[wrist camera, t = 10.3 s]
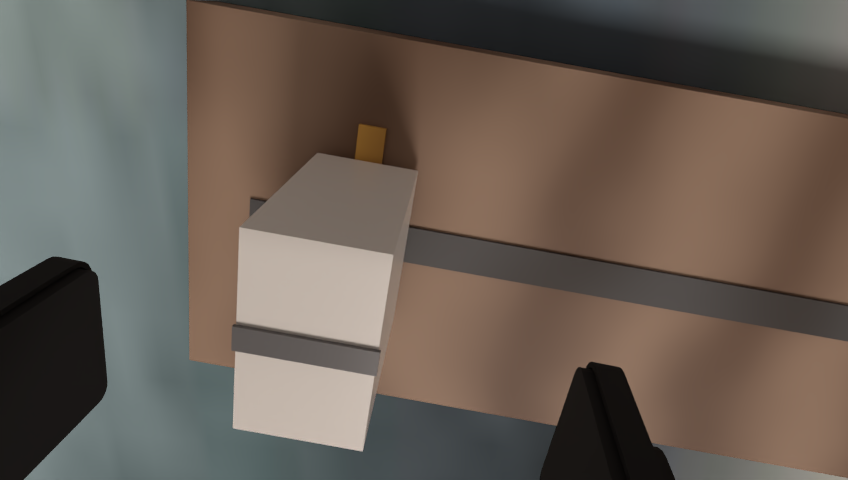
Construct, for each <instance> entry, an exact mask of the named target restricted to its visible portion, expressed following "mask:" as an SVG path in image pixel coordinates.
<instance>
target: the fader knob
mask: <svg viewBox="0 0 848 480" xmlns="http://www.w3.org/2000/svg"><path fill="white" fill-rule="evenodd" d="M417 175H418V171H417V170H411V169H406V168H400V167H394V166H389V165H383V164H378V163H372V162H366V161H361V160H355V159H350V158H344V157H339V156H333V155H327V154H322V153H317V154H316V155H315V156H314V157H312V158H311V159H310V160H309V161H308V162H307V163H306V164H305V165H304V166H303V167H302V168H301V169H300V170H299V171H298V172H297V173H296V174H295V175H294V176H293V177H291V178H290V179H289V180H288V181H287V182H286V183H285V184H284V185H283V186H282V187H281V188H280V189H279V190H278V191H277V192H276V193H275V194H274V195H273V196H272V197H270V198H269V199H268V200H267V201H266V202H265V203H264V204H263V205H262V206H261V207H260V208H259V209H258V210H257V211H256V212H255V213H254V214H253V215H252V216H251V217H249V218H248V219H247V220H246V221H245V222H244V223H243V224H242V225H241V226H240V227H239V251H238V283H237V315H236V324H233V326H232V341H231V351H235V378H234V410H233V428H235V429H240V430H246V431H252V432H257V433H263V434H268V435H274V436H279V437H285V438H291V439H296V440H302V441H307V442H313V443H319V444H324V445H330V446H335V447H341V448H346V449H352V450H358V451H363V448H364V443H365V439H366V435H367V431H368V426H369V422H370V418H371V413H372V409H373V405H374V400H375V396H376V392H377V387H378V383H379V379H380V375H381V370H382V366H383V362H384V357H385V353H386V349H387V344H388V340H389V336H390V332H391V327H392V323H393V319H394V314H395V308H396V302H397V296H398V290H399V284H400V278H401V271H402V265H403V259H404V253H405V247H406V241H407V235H408V229H409V223H410V217H411V211H412V205H413V199H414V193H415V187H416V181H417Z"/></svg>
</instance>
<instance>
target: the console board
mask: <svg viewBox="0 0 848 480" xmlns="http://www.w3.org/2000/svg"><path fill="white" fill-rule="evenodd" d="M187 114H188V231H189V348H190V360H193V361H199V362H204V363H210V364H216V365H221V366H227V367H232V368H235V351H231V341H232V326H233V324H236V315H237V283H238V251H239V227H240V226H241V225H242V224H243V223H244V222H245V221H246V220H247V219H248V218H249V217H251V216H252V215H253V214H254V213H255V212H256V211H257V210H258V209H259V208H260V207H261V206H262V205H263V204H264V203H265V202H266V201H267V200H268V199H269V198H270V197H272V196H273V195H274V194H275V193H276V192H277V191H278V190H279V189H280V188H281V187H282V186H283V185H284V184H285V183H286V182H287V181H288V180H289V179H290V178H291V177H293V176H294V175H295V174H296V173H297V172H298V171H299V170H300V169H301V168H302V167H303V166H304V165H305V164H306V163H307V162H308V161H309V160H310V159H311V158H312V157H314V156H315V155H316V154H317V153H322V154H327V155H333V156H339V157H344V158H350V159H355V160H361V161H366V162H372V163H378V164H383V165H389V166H394V167H400V168H406V169H411V170H417V171H418V175H417V181H416V187H415V193H414V199H413V205H412V211H411V217H410V223H409V229H408V235H407V241H406V247H405V253H404V259H403V265H402V271H401V278H400V284H399V290H398V296H397V302H396V308H395V314H394V319H393V323H392V327H391V332H390V336H389V340H388V344H387V349H386V353H385V357H384V362H383V366H382V370H381V375H380V379H379V383H378V387H377V392H376V393H377V394H383V395H389V396H394V397H400V398H405V399H411V400H416V401H422V402H428V403H433V404H439V405H444V406H450V407H456V408H461V409H467V410H472V411H478V412H483V413H489V414H495V415H500V416H506V417H511V418H517V419H522V420H528V421H534V422H539V423H545V424H550V425H556V426H557V424H558V421H559V418H560V415H561V412H562V409H563V406H564V403H565V400H566V397H567V394H568V391H569V388H570V385H571V382H572V379H573V376H574V374H575V371H576V369H577V368H578V367H582V368H586V366H587V365H588V363H589V362H596V363H601V364H606V365H612V366H617V367H620V368H622V369H623V371H624V373H625V376H626V378H627V381H628V384H629V386H630V389H631V391H632V394H633V396H634V399H635V402H636V404H637V407H638V409H639V412H640V414H641V417H642V420H643V422H644V425H645V427H646V430H647V432H648V435H649V437H650V440H651V443H656V444H662V445H668V446H673V447H679V448H684V449H690V450H695V451H701V452H707V453H712V454H718V455H723V456H729V457H734V458H740V459H746V460H751V461H757V462H762V463H768V464H774V465H779V466H785V467H790V468H796V469H801V470H807V471H813V472H818V473H824V474H829V475H835V476H840V477H846V478H848V115H847V114H842V113H836V112H831V111H825V110H820V109H814V108H808V107H803V106H797V105H792V104H786V103H781V102H775V101H769V100H764V99H758V98H753V97H747V96H742V95H736V94H730V93H725V92H719V91H714V90H708V89H703V88H697V87H691V86H686V85H680V84H675V83H669V82H664V81H658V80H652V79H647V78H641V77H636V76H630V75H625V74H619V73H613V72H608V71H602V70H597V69H591V68H586V67H580V66H574V65H569V64H563V63H558V62H552V61H547V60H541V59H535V58H530V57H524V56H519V55H513V54H508V53H502V52H496V51H491V50H485V49H480V48H474V47H469V46H463V45H457V44H452V43H446V42H441V41H435V40H430V39H424V38H418V37H413V36H407V35H402V34H396V33H391V32H385V31H379V30H374V29H368V28H363V27H357V26H352V25H346V24H340V23H335V22H329V21H324V20H318V19H313V18H307V17H301V16H296V15H290V14H285V13H279V12H274V11H268V10H262V9H257V8H251V7H246V6H240V5H235V4H229V3H223V2H218V1H198V0H187Z"/></svg>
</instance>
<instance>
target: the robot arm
mask: <svg viewBox="0 0 848 480" xmlns="http://www.w3.org/2000/svg"><path fill="white" fill-rule="evenodd" d="M106 388H107V373H106V361H105V350H104V339H103V328H102V317H101V305H100V294H99V283H98V277H97V275H96V273H95V272H93V271H91V268H90V266H89V265H88V264H87V263H85V262H82V261H77V260H72V259H67V258H62V257H51V258H48V259H46V260H45V261H43V262H41V263H39V264H38V265H36V266H34V267H32V268H31V269H29V270H27V271H25V272H24V273H22V274H20V275H18V276H17V277H15V278H13V279H11V280H9V281H8V282H6V283H4V284H2V285H1V286H0V480H24V479H25V478H26V477H27V476H28V475H29V474H30V473H31V472H32V470H33V469H34V468H35V467H36V466H37V465H38V464H39V463H40V462H41V461H42V460H43V459H44V458H45V457H46V456H47V455H48V454H49V453H50V452H51V451H52V450H53V449H54V448H55V447H56V446H57V445H58V444H59V443H60V442H61V441H62V440H63V439H64V438H65V437H66V436H67V435H68V434H69V433H70V432H71V431H72V430H73V429H74V428H75V427H76V426H77V425H78V424H79V423H80V422H81V421H82V419H83V418H84V417H85V416H86V415H87V414H88V413H89V412H90V411H91V410H92V409H93V408H94V407H95V406H96V405H97V404H98V403H99V402H100V401H101V400H102V398H103V396H104V394H105V392H106ZM540 480H675V478H674V475H673V473H672V470H671V468H670V466H669V463H668V461H667V458H666V457H665V455H664V453H663V451H662V450H660V449H659V448H658V447H653V445H652V443H651V440H650V437H649V435H648V432H647V430H646V427H645V425H644V422H643V420H642V417H641V414H640V412H639V409H638V407H637V404H636V402H635V399H634V396H633V394H632V391H631V389H630V386H629V384H628V381H627V378H626V376H625V373H624V371H623V369H622V368H620V367H617V366H612V365H606V364H601V363H596V362H589V363H588V365H587V366H586V368H582V367H578V368H577V369H576V371H575V374H574V376H573V379H572V382H571V385H570V388H569V391H568V394H567V397H566V400H565V403H564V406H563V409H562V412H561V415H560V418H559V421H558V424H557V427H556V429H555V432H554V435H553V438H552V441H551V444H550V447H549V450H548V453H547V456H546V459H545V462H544V465H543V468H542V471H541V476H540Z"/></svg>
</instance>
